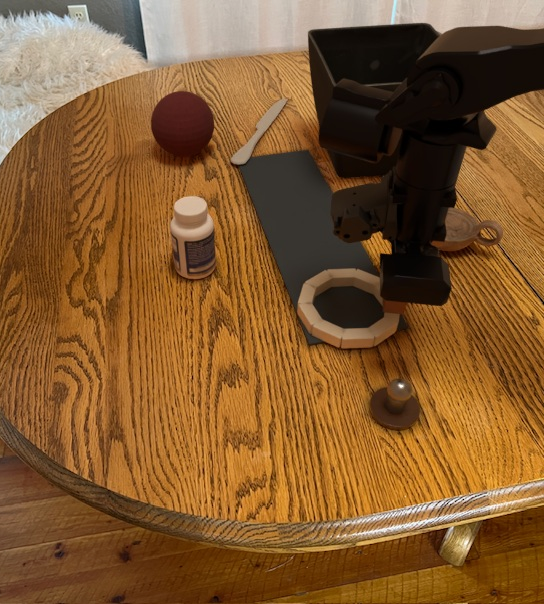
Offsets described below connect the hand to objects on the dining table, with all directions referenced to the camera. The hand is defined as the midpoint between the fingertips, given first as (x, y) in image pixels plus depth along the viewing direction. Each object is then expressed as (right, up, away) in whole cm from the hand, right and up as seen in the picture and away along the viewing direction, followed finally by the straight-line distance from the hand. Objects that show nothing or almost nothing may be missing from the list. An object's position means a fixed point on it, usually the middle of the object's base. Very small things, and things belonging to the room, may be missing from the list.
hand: (397, 291), depth 68 cm
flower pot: (+4, +22, +28) cm, 36 cm away
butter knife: (-13, +28, +34) cm, 46 cm away
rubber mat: (-8, +9, +15) cm, 19 cm away
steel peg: (-2, -12, -6) cm, 14 cm away
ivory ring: (-5, -2, +3) cm, 6 cm away
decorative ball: (-26, +23, +30) cm, 46 cm away
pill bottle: (-23, +3, +10) cm, 26 cm away
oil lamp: (+10, +7, +13) cm, 18 cm away
